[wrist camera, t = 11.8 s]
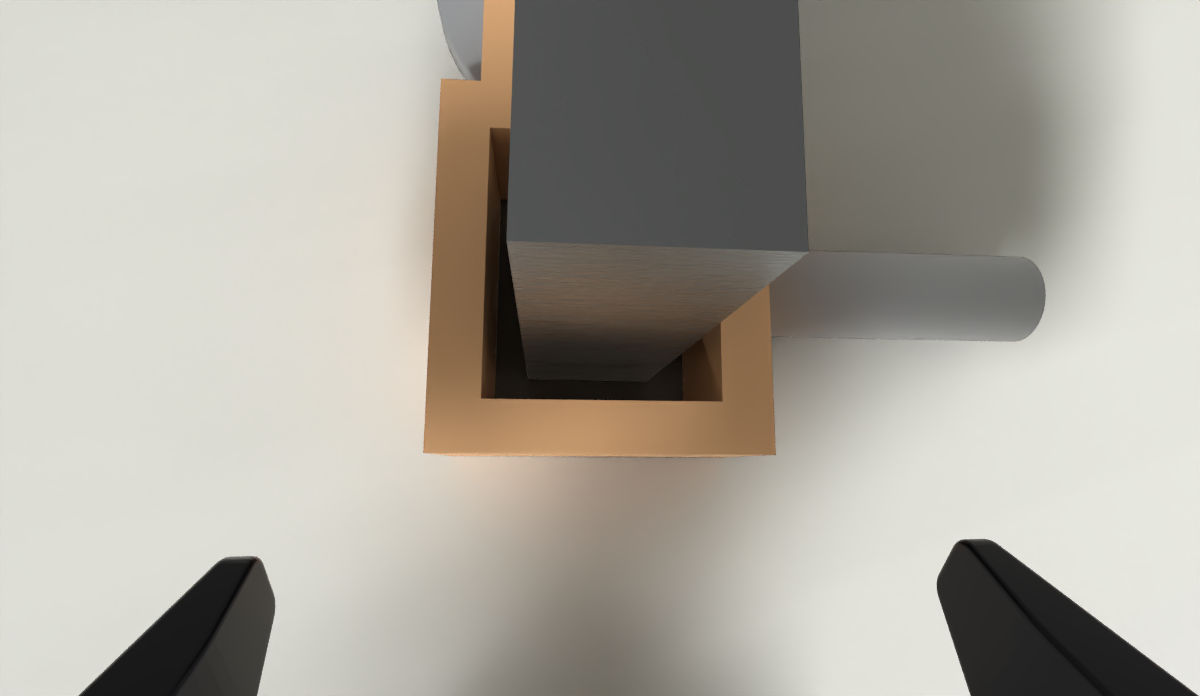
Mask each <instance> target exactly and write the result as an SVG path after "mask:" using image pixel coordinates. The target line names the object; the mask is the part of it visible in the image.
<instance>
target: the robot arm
mask: <svg viewBox="0 0 1200 696" xmlns="http://www.w3.org/2000/svg"><path fill="white" fill-rule="evenodd" d="M937 592H938V597H939V600H940V603H941V606H942V609H943V612H944V615H945V618H946V621H947V624H948V628H949V631H950V634H951V637H952V640H953V643H954V646H955V649H956V652H957V655H958V658H959V661H960V665H961V668H962V671H963V674H964V677H965V680H966V683H967V686H968V689H969V692H970V695H971V696H1198V695H1197V694H1195V693H1194V692H1193V691H1192V690H1190V689H1189V688H1188V687H1186V686H1185V685H1184V684H1182V683H1181V682H1180V681H1178V680H1177V679H1176V678H1174V677H1173V676H1172V675H1170V674H1169V673H1168V672H1166V671H1165V670H1164V669H1162V668H1161V667H1160V666H1158V665H1157V664H1156V663H1154V662H1153V661H1152V660H1150V659H1149V658H1148V657H1146V656H1145V655H1144V654H1142V653H1141V652H1140V651H1139V650H1137V649H1136V648H1135V647H1133V646H1132V645H1131V644H1129V643H1128V642H1127V641H1125V640H1124V639H1123V638H1121V637H1120V636H1119V635H1117V634H1116V633H1115V632H1113V631H1112V630H1111V629H1109V628H1108V627H1107V626H1105V625H1104V624H1103V623H1101V622H1100V621H1099V620H1097V619H1096V618H1095V617H1093V616H1092V615H1091V614H1089V613H1088V612H1087V611H1086V610H1084V609H1083V608H1082V607H1080V606H1079V605H1078V604H1076V603H1075V602H1074V601H1072V600H1071V599H1070V598H1068V597H1067V596H1066V595H1064V594H1063V593H1062V592H1060V591H1059V590H1058V589H1056V588H1055V587H1054V586H1052V585H1051V584H1050V583H1048V582H1047V581H1046V580H1044V579H1043V578H1042V577H1040V576H1039V575H1038V574H1036V573H1035V572H1034V571H1033V570H1031V569H1030V568H1029V567H1027V566H1026V565H1025V564H1023V563H1022V562H1021V561H1019V560H1018V559H1017V558H1015V557H1014V556H1013V555H1011V554H1010V553H1009V552H1007V551H1006V550H1005V549H1003V548H1002V547H1001V546H999V545H998V544H996V543H995V542H993V541H991V540H987V539H964V540H960V541H958V542H957V543H956V544H955V545H954V547H953V549H952V550H951V552H950V554H949V556H948V558H947V560H946V562H945V564H944V566H943V568H942V569H941V571H940V573H939V575H938V579H937ZM274 614H275V597H274V593H273V590H272V588H271V585H270V582H269V579H268V576H267V574H266V571H265V568H264V565H263V563H262V561H261V560H260V559H259V558H258V557H255V556H242V557H226V558H224V559H222V560H220V561H219V562H217V563H216V564H215V565H214V566H213V567H212V568H211V569H210V570H209V571H208V572H207V573H206V574H205V575H204V576H203V577H202V578H200V579H199V580H198V581H197V582H196V583H195V584H194V585H193V586H192V587H191V588H190V589H189V590H188V591H187V592H186V593H185V594H184V595H183V596H182V597H181V598H180V599H179V600H178V601H177V602H175V603H174V604H173V605H172V606H171V607H170V608H169V609H168V610H167V611H166V612H165V613H164V614H163V615H162V616H161V617H160V618H159V619H158V620H157V621H156V622H155V623H154V624H153V625H152V626H150V627H149V628H148V629H147V630H146V631H145V632H144V633H143V634H142V635H141V636H140V637H139V638H138V639H137V640H136V641H135V642H134V643H133V644H132V645H131V646H130V647H129V648H128V649H127V650H125V651H124V652H123V653H122V654H121V655H120V656H119V657H118V658H117V659H116V660H115V661H114V662H113V663H112V664H111V665H110V666H109V667H108V668H107V669H106V670H105V671H104V672H103V673H102V674H100V675H99V676H98V677H97V678H96V679H95V680H94V681H93V682H92V683H91V684H90V685H89V686H88V687H87V688H86V689H85V690H84V691H83V692H82V693H81V694H80V695H79V696H257V693H258V689H259V684H260V680H261V675H262V670H263V666H264V661H265V656H266V652H267V647H268V643H269V638H270V633H271V629H272V624H273V619H274Z"/></svg>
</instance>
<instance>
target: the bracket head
mask: <svg viewBox="0 0 1200 696" xmlns="http://www.w3.org/2000/svg"><path fill="white" fill-rule="evenodd" d="M437 2H438V8H439V13H440V18H441V22H442V26H443V31H444V35H445V38H446V41H447V44H448V47H449V50H450V53H451V55H452V57H453V59H454V61H455V63H456V65H457V67H458V69H459V71H460V72H461V74H462V75H463V77H464V78H465V80H454V79H441V92H440V113H439V134H438V155H437V176H436V197H435V218H434V239H433V260H432V281H431V302H430V324H429V345H428V366H427V387H426V408H425V429H424V450H423V453H431V454H440V455H449V456H599V457H739V456H760V455H776V448H775V422H774V397H773V371H772V345H771V337H814V338H864V339H914V340H963V341H1013V342H1015V341H1020V340H1023V339H1025V338H1026V337H1028V336H1029V335H1030V334H1031V333H1032V332H1033V331H1034V330H1035V328H1036V327H1037V325H1038V323H1039V321H1040V319H1041V317H1042V314H1043V310H1044V306H1045V285H1044V281H1043V277H1042V275H1041V272H1040V271H1039V269H1038V267H1037V266H1036V265H1035V264H1034V263H1033V262H1032V261H1031V260H1029V259H1027V258H1024V257H1006V256H973V255H941V254H908V253H876V252H843V251H810V250H809V252H808V253H807V254H806V255H804V256H803V257H802V258H801V259H799V260H798V261H797V262H796V263H794V264H793V265H792V266H791V267H789V268H788V269H787V270H786V271H784V272H783V273H782V274H781V275H779V276H778V277H777V278H776V279H774V280H773V281H772V282H771V283H769V284H768V285H767V286H766V287H764V288H763V289H762V290H761V291H759V292H758V293H757V294H756V295H754V296H753V297H752V298H751V299H749V300H748V301H747V302H746V303H744V304H743V305H742V306H741V307H739V308H738V309H737V310H736V311H734V312H733V313H732V314H731V315H729V316H728V317H727V318H726V319H724V320H723V321H722V322H721V323H719V324H718V325H717V326H716V327H714V328H713V329H712V330H711V331H709V332H708V333H707V334H706V335H704V336H703V337H702V338H701V339H699V340H698V341H697V342H696V343H694V344H693V345H692V346H691V347H689V348H688V349H687V350H686V351H684V352H683V353H682V378H683V401H634V400H552V399H495V378H496V345H497V312H498V279H499V246H500V213H501V199H507V200H508V183H509V154H510V126H511V98H512V70H513V42H514V14H515V0H437Z"/></svg>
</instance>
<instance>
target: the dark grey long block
mask: <svg viewBox="0 0 1200 696" xmlns="http://www.w3.org/2000/svg"><path fill="white" fill-rule="evenodd" d="M506 241H507V248H508V254H509V260H510V267H511V273H512V280H513V286H514V292H515V299H516V305H517V312H518V318H519V324H520V331H521V337H522V344H523V350H524V356H525V363H526V369H527V376H528V379H552V380H599V381H646V382H647V381H648V380H649V379H651V378H652V377H653V376H654V375H656V374H657V373H658V372H659V371H661V370H662V369H663V368H664V367H666V366H667V365H668V364H669V363H671V362H672V361H673V360H674V359H676V358H677V357H678V356H679V355H681V354H682V353H683V352H684V351H686V350H687V349H688V348H689V347H691V346H692V345H693V344H694V343H696V342H697V341H698V340H699V339H701V338H702V337H703V336H704V335H706V334H707V333H708V332H709V331H711V330H712V329H713V328H714V327H716V326H717V325H718V324H719V323H721V322H722V321H723V320H724V319H726V318H727V317H728V316H729V315H731V314H732V313H733V312H734V311H736V310H737V309H738V308H739V307H741V306H742V305H743V304H744V303H746V302H747V301H748V300H749V299H751V298H752V297H753V296H754V295H756V294H757V293H758V292H759V291H761V290H762V289H763V288H764V287H766V286H767V285H768V284H769V283H771V282H772V281H773V280H774V279H776V278H777V277H778V276H779V275H781V274H782V273H783V272H784V271H786V270H787V269H788V268H789V267H791V266H792V265H793V264H794V263H796V262H797V261H798V260H799V259H801V258H802V257H803V256H804V255H806V254H807V253H808V252H809V248H808V225H807V202H806V178H805V155H804V131H803V108H802V84H801V61H800V37H799V14H798V0H515V14H514V42H513V70H512V98H511V126H510V154H509V183H508V211H507V239H506Z"/></svg>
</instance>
